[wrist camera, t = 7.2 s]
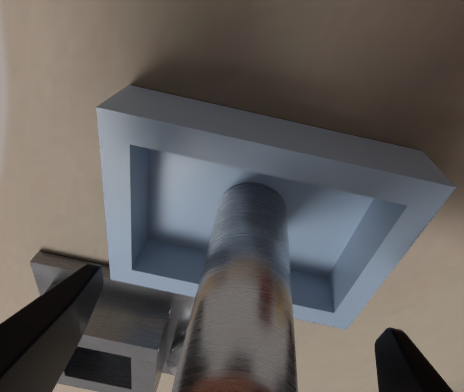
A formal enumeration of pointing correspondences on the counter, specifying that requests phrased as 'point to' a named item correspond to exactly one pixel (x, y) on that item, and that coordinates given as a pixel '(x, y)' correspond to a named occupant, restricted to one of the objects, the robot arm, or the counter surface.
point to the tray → (265, 172)
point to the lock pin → (243, 301)
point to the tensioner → (121, 331)
